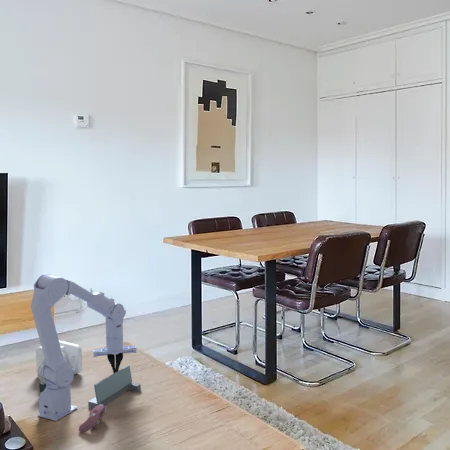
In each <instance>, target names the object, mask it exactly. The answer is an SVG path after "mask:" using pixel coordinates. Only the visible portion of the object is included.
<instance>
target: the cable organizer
mask: <svg viewBox="0 0 450 450" xmlns="http://www.w3.org/2000/svg"><path fill="white" fill-rule="evenodd" d="M59 343H60V347H61V351H62V354H63V356H64V358H65V359H66V360H67V362H68V365H69V367H70V368H71V369H72V370H73V372H74V375H77V374H79V373H81V372H82V371H83V357H82V348H81V346H80V345H79V344H77V343H73V342H68V341H64V340H59ZM44 359H45V357H44V353H43V350H42V346H41V345H40V346H38V347H36V348H35V363H36V373H37V374H38V368H39V366H40V365H41V364H42V361H43V360H44ZM42 375H43V374H42Z"/></svg>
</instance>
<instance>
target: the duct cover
mask: <svg viewBox="0 0 450 450" xmlns="http://www.w3.org/2000/svg"><path fill="white" fill-rule="evenodd" d="M131 371H132V370H131V367H130V365H129V364H128V365H125V366H124V367H122V368H121V369H119V370H118V371H117V372H115V373H114V374H113V373H112V374H111V375H108V376H107V377H105V378H103V379H102V380H99V381H98V382H96V383H95V384H93V387H94V388H93V389H94V393H95V397H96V400H97V403H100V402H102V401H103V400H105V399H106V398H108V397H109V396H111V395H113V394H114V393H116V392H117V391H119V390H121V389H122V388H124V387H125V386H127V385H128V384H130V383H133V378H132V372H131Z"/></svg>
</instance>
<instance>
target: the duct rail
mask: <svg viewBox="0 0 450 450" xmlns="http://www.w3.org/2000/svg"><path fill="white" fill-rule="evenodd" d="M141 386H142V384H141V383H138V382H132V383H130V384H128V385H127V386H125V387H124V388H122V389H121V390H119V391H117V392H116V393H114V394H113V395H111V396H109V397H108V398H106V399H105V400H103V401H102V402H100V403H97V400H96V396H95V397H93V398H91V399H90V400H88V401H87V403H88V404H87V405H88V407H87V408H89V409H93V408H95V407H96V406H98V405H99V404H101V405H102V404H103V405H105V406H107V405H108V404H109V403H111V402H112V401H114V400H116V399H117V398H119V397H120V396H122V395H124V394H125V393H127V392H128V391H129V390H130V391H131V392H134V393H138V392H140V391H142V388H141Z"/></svg>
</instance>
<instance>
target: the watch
mask: <svg viewBox="0 0 450 450" xmlns="http://www.w3.org/2000/svg"><path fill="white" fill-rule="evenodd" d="M42 370H43V363H42V364H41V365H40V366H39V368H38V373H37V377H38V380H39V381H40V382H39V393H41V392H43V391H44V390H45V388H46V379H45V378H44V377H43V375H42Z"/></svg>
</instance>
